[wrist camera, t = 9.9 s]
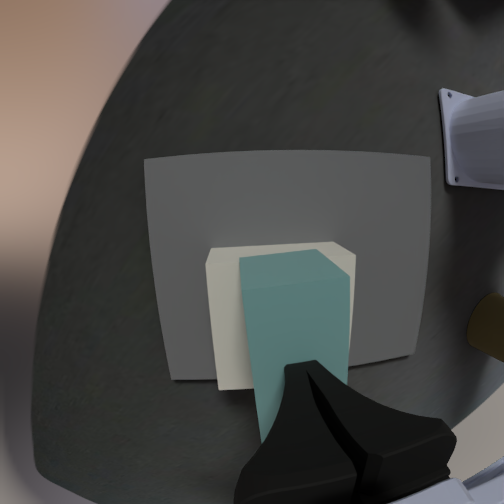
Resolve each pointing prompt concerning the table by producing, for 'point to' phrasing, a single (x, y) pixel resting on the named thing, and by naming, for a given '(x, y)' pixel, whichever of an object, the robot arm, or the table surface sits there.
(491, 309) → the cork
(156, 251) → the baseplate
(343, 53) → the table surface
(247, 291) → the top brick
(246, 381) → the base brick
